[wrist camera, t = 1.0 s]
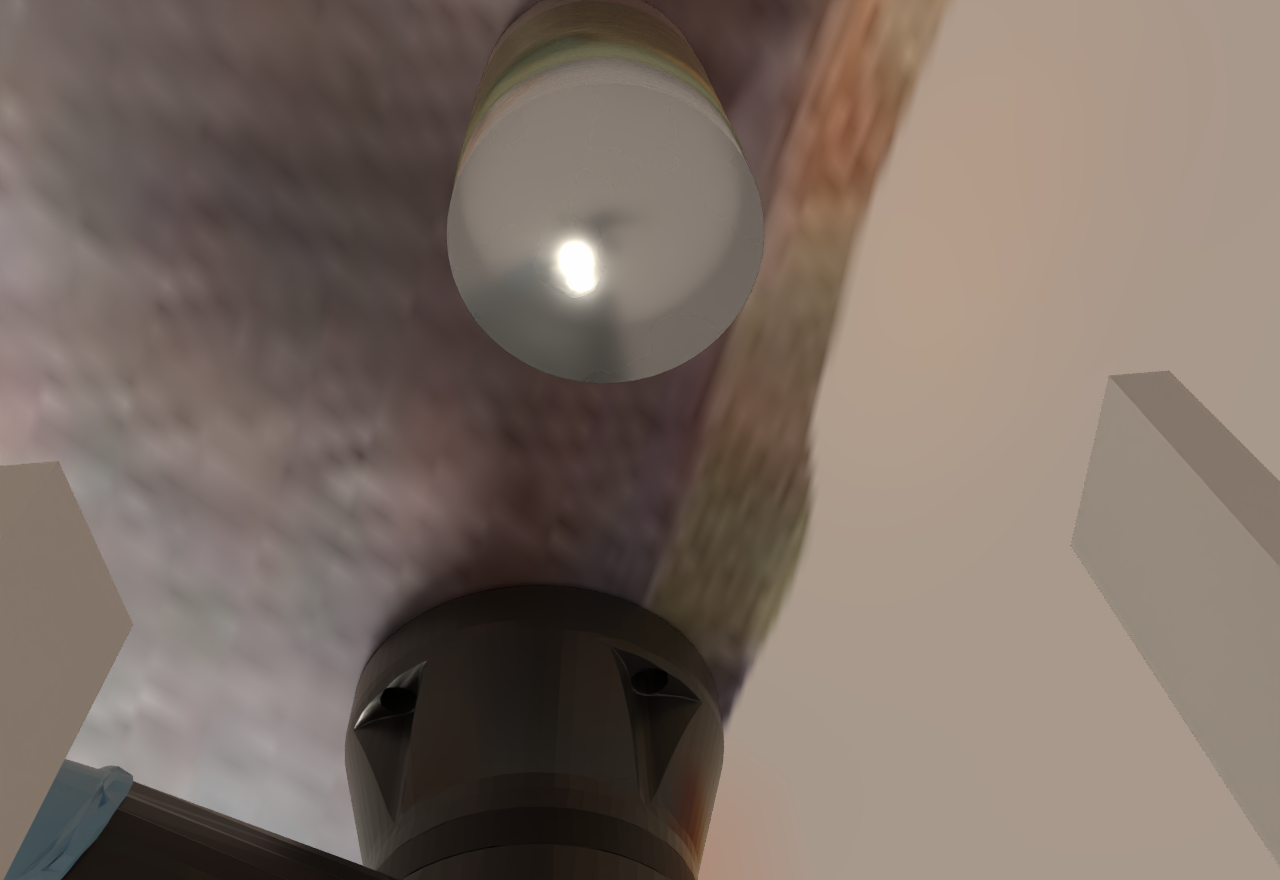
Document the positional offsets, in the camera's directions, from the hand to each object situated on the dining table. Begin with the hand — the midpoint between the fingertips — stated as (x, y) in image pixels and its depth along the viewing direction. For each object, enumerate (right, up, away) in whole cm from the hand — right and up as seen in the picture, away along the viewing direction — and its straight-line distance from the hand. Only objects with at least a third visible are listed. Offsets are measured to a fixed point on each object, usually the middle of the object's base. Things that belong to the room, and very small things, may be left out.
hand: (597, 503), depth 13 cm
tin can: (-1, +10, +16) cm, 19 cm away
